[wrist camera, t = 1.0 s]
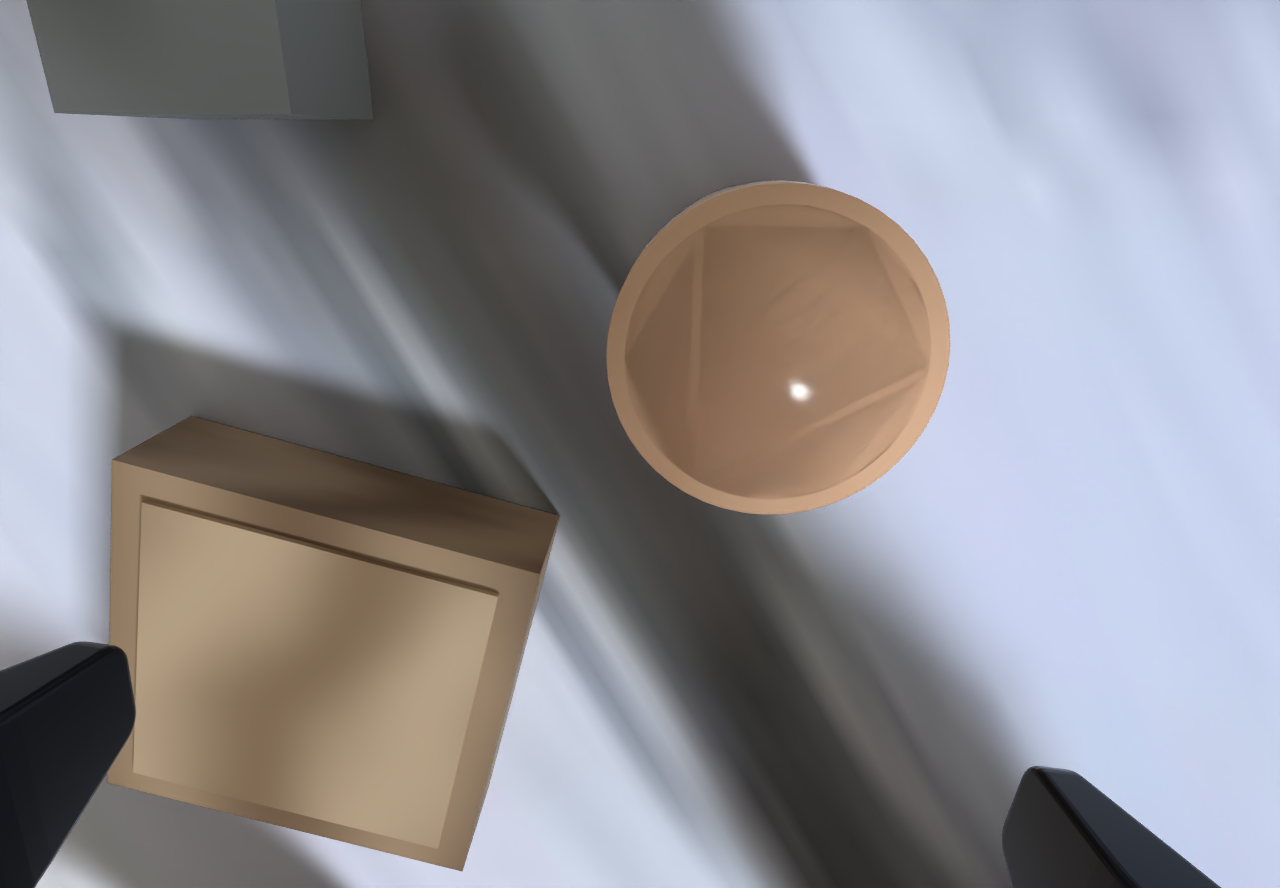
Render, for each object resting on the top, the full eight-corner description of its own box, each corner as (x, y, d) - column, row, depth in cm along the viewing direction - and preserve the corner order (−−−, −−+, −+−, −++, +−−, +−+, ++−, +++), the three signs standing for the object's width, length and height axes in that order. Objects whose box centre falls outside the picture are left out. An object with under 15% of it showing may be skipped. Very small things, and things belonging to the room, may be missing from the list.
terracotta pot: (906, 209, 17) (1009, 241, 12) (820, 432, 19) (872, 549, 14) (668, 139, 17) (658, 137, 12) (605, 372, 19) (572, 466, 14)
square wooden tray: (559, 515, 21) (538, 577, 18) (488, 788, 24) (461, 876, 21) (191, 416, 20) (106, 462, 17) (175, 708, 24) (103, 786, 21)
